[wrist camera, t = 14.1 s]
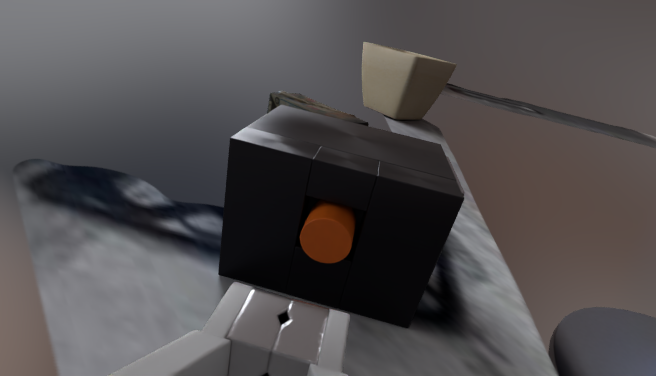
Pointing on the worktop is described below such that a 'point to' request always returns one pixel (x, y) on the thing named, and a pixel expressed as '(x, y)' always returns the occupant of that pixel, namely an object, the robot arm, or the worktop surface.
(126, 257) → the worktop surface
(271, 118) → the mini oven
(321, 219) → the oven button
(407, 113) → the flower pot
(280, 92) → the beverage carton
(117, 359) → the worktop surface
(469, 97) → the worktop surface
